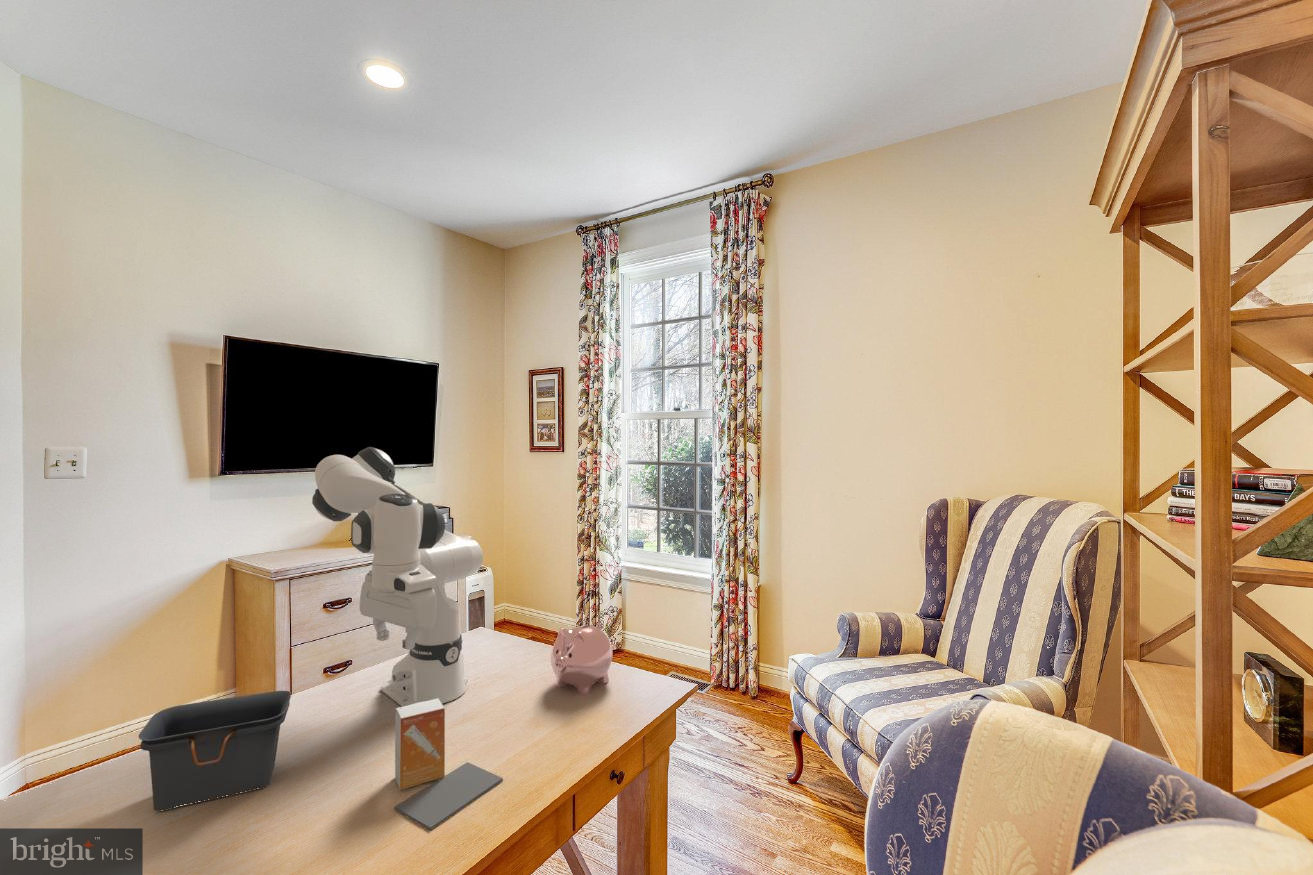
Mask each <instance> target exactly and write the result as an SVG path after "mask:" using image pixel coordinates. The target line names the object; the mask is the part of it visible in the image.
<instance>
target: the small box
mask: <svg viewBox="0 0 1313 875" xmlns="http://www.w3.org/2000/svg"><path fill="white" fill-rule="evenodd" d="M445 708H446V707H444V705H443V703H441V702H440V700H439V698H437V699H433V700H429V701H424V702H419V703H414V704H411V705H407V706H403V707H402V706H400V707H395V719H394V720H395V721H394V722H395V728H394V732H395V737H394V738H395V739H394V742H395V743H394V745H395V746H394V750H395V751H394V753H395V754H394V759H395V760H394V764H395V765H394V772H395V774H394V776H395V780H396V782H397V784H398V788H399V790H400V791H402V790H405V789H408V788H411V787H414V786H417V785H421V784H423V783H424V784H425V783H427V782H428V783H429V782H431V781H434V780H439V779H440V778H443V777H444V776H445V775H446V773H445V771H446V770H445V768H446V764H445V762H446V752H445V751H446V747H445V746H446V744H445V743H446V740H445V739H446V734H445V731H446V730H445V728H446V726H445V724H446V721H445V720H446V716H445V715H446V712H445V711H446V709H445Z"/></svg>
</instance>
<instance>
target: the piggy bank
mask: <svg viewBox="0 0 1313 875" xmlns="http://www.w3.org/2000/svg"><path fill="white" fill-rule="evenodd" d="M597 625H598V627H597V626H595V625H589V624H588V625H581V626H575V627H572V628H568V629H567V628H564V627H560V628H559V629H558V633H557V638H556V639H555V641H554V643H553V645H552V649H551V652H550V653H551V654H550V663H551V668H552V670H553V672H554V675H555V678H556V682H555V687H557V688H565V687H566V686H568V685H571V686H573V687H575V688H576V689H577V692H578V694H579V695H582V696H586V695H589V694H590V693H591V690H592V687H593V685H594V684H595V683H596V682H598V683H599V684H608V682H609V681H610V680H609V674H608V673H609V672H608V671H609V669H610V667H611V664H612V660H613V647H612V643H611V640H610V639H609V636H607V634H606V633H605V632H604V631H603V630H602V625H601V624H600V621H598V622H597Z"/></svg>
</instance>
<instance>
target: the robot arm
mask: <svg viewBox="0 0 1313 875" xmlns="http://www.w3.org/2000/svg"><path fill="white" fill-rule="evenodd" d="M314 471H315V472H314V477H315V478H314V480H315V483H316V486H317V488H315V491H314V493H313V496H312V499H311V500H312V501H311V504H312V505H313V507H314V509H315V511H316V512H317V513H318V514H319V515H320V516H321V517H322V518H324V519H326V520H328V521H329V520H330V521H332V522H343V521H344V520H347V519H348V518H350V517H351V516H352V514H356V515H355V517H354V518H353V519H352V521H351V527H350V529H351V531H350V532H351V533H350V541H351V545H352V546H353V547H354V548H355V549H356V550H358V551H359V552H361V553H362V554H369V555H372V554H373V558H372V560H371V561H372V562H371V570H369V571H368V572H367V573H366V575H364V576H365V577H364V581H363V583H362V584H361V589H360V596H359V611H360V615H362V616H364V617H368V618H370V619H371V618H372V624H373V626H374V629H375V631H376V640H377V641H380V642H385V641H388V640H389V639H390V635H389V634H390V630H387V624H386V623H388V624H391V625H394V626H398V627H402V628H404V629H405V633H406V636H405V639H402V649H405V650H408V651H409V652H408V653H407V654H406V655H405V656H404V657H402V658H401V659H400V660H399V661H397V662H396V663H395V664H394V665H393V667H392V669H391V670H392V671H391V678H390V680H388V681H386V682H384V683H383V684H382V685H381V688H380V691H381V692H382V693H384V694H385V695H386V696H388V697H389V698H390V699H392V700H393V701H394V702H396V703H397V704H398V705H399V706H400V707H403V706H407V705H411V704H414V703H419V702H424V701H429V700H433V699H437V698H439V700H440V702H441V703H442V704H445V703H448V702H452V701H453V700H455V699H458V698H460V697H461V696H462V695H463V694H464V693H465V692H466V691H467V686H466V684H467V682H468V676H467V675H465V674H466V672H465V671H466V670H465V662H464V653H463V652H462V649H463V646H462V645H463V636H462V634H461V611H462V610H461V607H460V605H459V603H458V602H457V601H455V600H454V599H452V598H450V597H448V596H447V593H446V588H445V587H446V586H445V585H446V584H450V583H452V582H456V581H459V580H460V581H461V580H464V579H466V578H467V577H469V576H472V575H473V574H474V573H476V572H478V571H479V570H480V569H481V567H482V565H483V560H484V557H483V556H484V554H483V550H482V547H481V545H480V544H479V543H478V542H477V541H476V540H474V539H473V538H467V537H464V536H459V535H458V534H455V533H452V532H450V531H448V530H446V520H445V516H444V515H443V513H442V512H441V510H440V509H439V508H438V507H437V506H435V505H434V504H433V503H431V502H428V503H427V502H423V501H421V500H420V499H419V498H417V497H415V496H414V495H412V494H411V493H410V492H408V491H406V490H405V489H404V488H402V487H401V486H399V485H397V484H396V481H395V476H396V467H395V464H394V462H393V459H391V457H390V455H388V454H387V453H386V452H384V451H383V450H382V449H378V448H375V447H372V446H367V447H366V448H364V449H362V450H360V451H358V452H357V455H355V456H353V457H352V458H351V457H348V456H346V455H343V454H333V455H329V456H326V457H324V458H323V459H322V460H320V462H318V464H317V465H316V467H315V470H314Z"/></svg>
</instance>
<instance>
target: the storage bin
mask: <svg viewBox="0 0 1313 875" xmlns="http://www.w3.org/2000/svg"><path fill="white" fill-rule="evenodd" d="M291 697H292V692H291V691H289V690H275V691H274V690H273V691H270V692H269V691H267V692H261V693H260V692H259V693H253V694H248V695H247V694H246V695H240V696H232V697H227V698H219V699H213V700H205V701H199V702H193V703H187V704H179V705H176V706H175V705H174V706H172V707H171V706H170V707H168V708H164V709H162V710H160V711H158V712H156V713H155V714H153V715H152V716H151V718H150V719H149V720H148V722H146V725H144V727H143V728H142V729H141V731H140V732H139V734H138V736H137V737H138V739H139V740H141V742H140V749H141V750H142V751H144V752H145V751H146V752H148V754H149V765H150V777H151V778H150V779H151V789H152V790H151V791H152V800H153V801H152V802H153V810H154V811H155V812H162V811H161V810H165V811H167V810H166V809H169V808H173V809H175V808H174V807H176V806H180V805H184V804H190V803H195V802H198V801H204V800H208V799H213V800H215V799H214V798H217V797H222V796H226V795H231V796H233V795H232V794H235V795H237V794H236V793H240V792H245V791H249V790H254V789H257V788H262V789H264V788H263V787H265V788H267V785H268V786H269V784H270V783H271V779H272V775H273V772H274V767H275V765H276V764H275V763H276V758H277V751H278V745H279V736H280V732H281V725H282V724H283V723H284V722H285V719H286V717H287V713H288V712H289V707H290V701H291ZM254 791H255V790H254ZM249 792H250V791H249ZM245 793H246V792H245ZM240 794H241V793H240ZM226 797H227V796H226ZM222 798H223V797H222ZM217 799H218V798H217ZM208 801H209V800H208ZM204 802H205V801H204ZM195 804H196V803H195ZM169 810H170V809H169Z"/></svg>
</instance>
